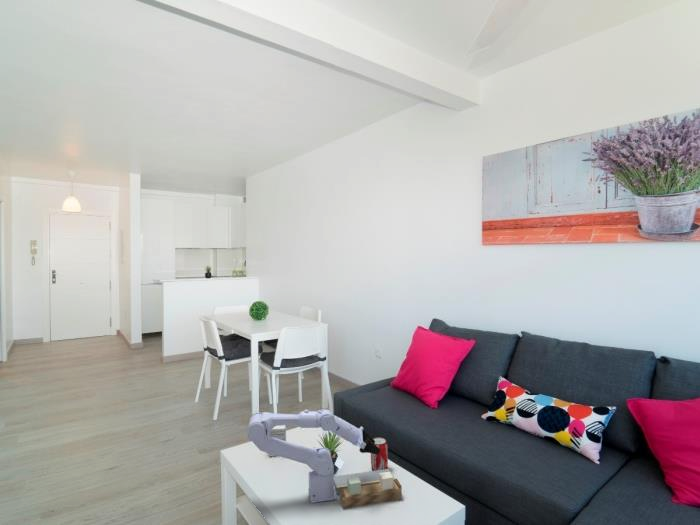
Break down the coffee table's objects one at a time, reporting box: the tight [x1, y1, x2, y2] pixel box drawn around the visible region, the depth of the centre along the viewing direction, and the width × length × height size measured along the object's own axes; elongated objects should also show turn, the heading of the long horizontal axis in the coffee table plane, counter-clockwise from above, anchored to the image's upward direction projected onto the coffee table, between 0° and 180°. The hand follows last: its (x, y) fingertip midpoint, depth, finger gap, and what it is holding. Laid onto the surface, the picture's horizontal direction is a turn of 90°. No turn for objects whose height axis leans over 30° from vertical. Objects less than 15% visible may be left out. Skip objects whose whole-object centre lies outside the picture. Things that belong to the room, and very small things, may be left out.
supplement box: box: [269, 425, 287, 457], centre depth 175 cm, size 7×7×13 cm
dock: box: [334, 468, 396, 496], centre depth 148 cm, size 23×8×3 cm, turn 102°
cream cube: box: [379, 472, 393, 490], centre depth 140 cm, size 4×4×4 cm
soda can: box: [370, 437, 389, 471], centre depth 159 cm, size 7×7×12 cm
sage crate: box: [347, 476, 361, 495], centre depth 137 cm, size 4×4×4 cm
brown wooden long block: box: [339, 478, 403, 510], centre depth 138 cm, size 22×5×5 cm, turn 103°
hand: (376, 447), depth 145 cm, fingers open, 7 cm apart
